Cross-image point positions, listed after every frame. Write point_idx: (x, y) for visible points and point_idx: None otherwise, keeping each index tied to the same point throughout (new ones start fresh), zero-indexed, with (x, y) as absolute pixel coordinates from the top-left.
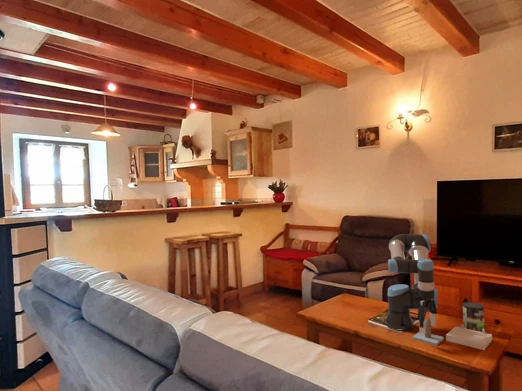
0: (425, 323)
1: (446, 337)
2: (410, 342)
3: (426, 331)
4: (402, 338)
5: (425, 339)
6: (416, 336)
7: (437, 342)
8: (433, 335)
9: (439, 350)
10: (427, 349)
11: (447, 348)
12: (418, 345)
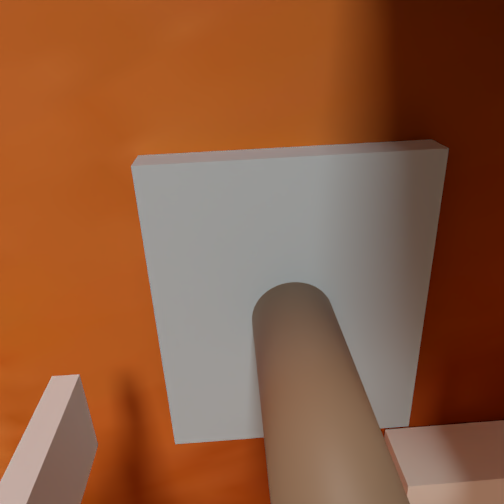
0: (274, 491)
1: (395, 460)
2: (5, 187)
3: (258, 379)
4: (28, 14)
5: (183, 331)
6: (188, 205)
7: (209, 440)
8: (384, 343)
9: (93, 473)
10: (9, 402)
11: (198, 494)
12: (15, 299)
